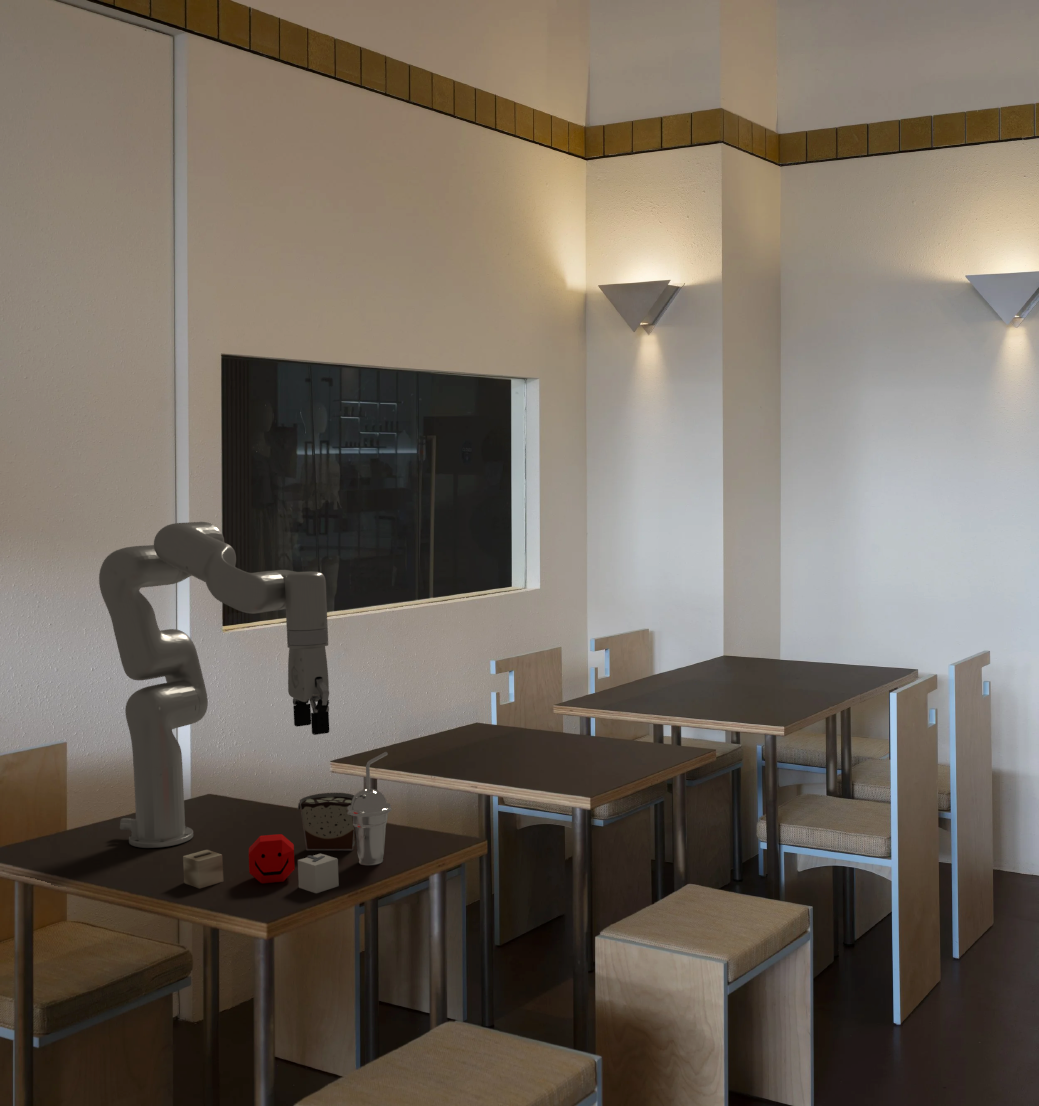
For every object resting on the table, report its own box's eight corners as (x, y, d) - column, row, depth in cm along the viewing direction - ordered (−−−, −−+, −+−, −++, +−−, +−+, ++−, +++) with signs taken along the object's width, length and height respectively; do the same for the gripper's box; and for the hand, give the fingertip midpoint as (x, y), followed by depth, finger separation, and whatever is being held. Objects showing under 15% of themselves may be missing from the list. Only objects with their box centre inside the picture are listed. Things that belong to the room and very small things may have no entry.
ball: (249, 888, 217) (247, 846, 216) (250, 874, 224) (248, 833, 224) (295, 884, 218) (293, 842, 218) (294, 870, 226) (292, 830, 226)
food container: (367, 841, 243) (365, 791, 243) (360, 850, 237) (358, 799, 237) (307, 841, 245) (305, 791, 244) (298, 850, 239) (296, 799, 238)
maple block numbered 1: (184, 883, 221) (182, 855, 220) (208, 876, 224) (207, 848, 224) (199, 889, 217) (197, 860, 217) (223, 881, 221) (222, 853, 221)
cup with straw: (342, 859, 232) (338, 755, 231) (387, 851, 236) (383, 749, 235) (356, 871, 224) (352, 764, 223) (402, 863, 228) (399, 757, 227)
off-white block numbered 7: (298, 887, 216) (296, 859, 216) (320, 880, 220) (319, 852, 220) (315, 893, 213) (314, 864, 213) (338, 886, 216) (337, 857, 216)
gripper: (273, 635, 232) (277, 725, 233) (303, 644, 217) (308, 739, 218) (311, 632, 236) (314, 720, 237) (343, 640, 221) (347, 734, 221)
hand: (311, 729), depth 227 cm, fingers open, 9 cm apart
